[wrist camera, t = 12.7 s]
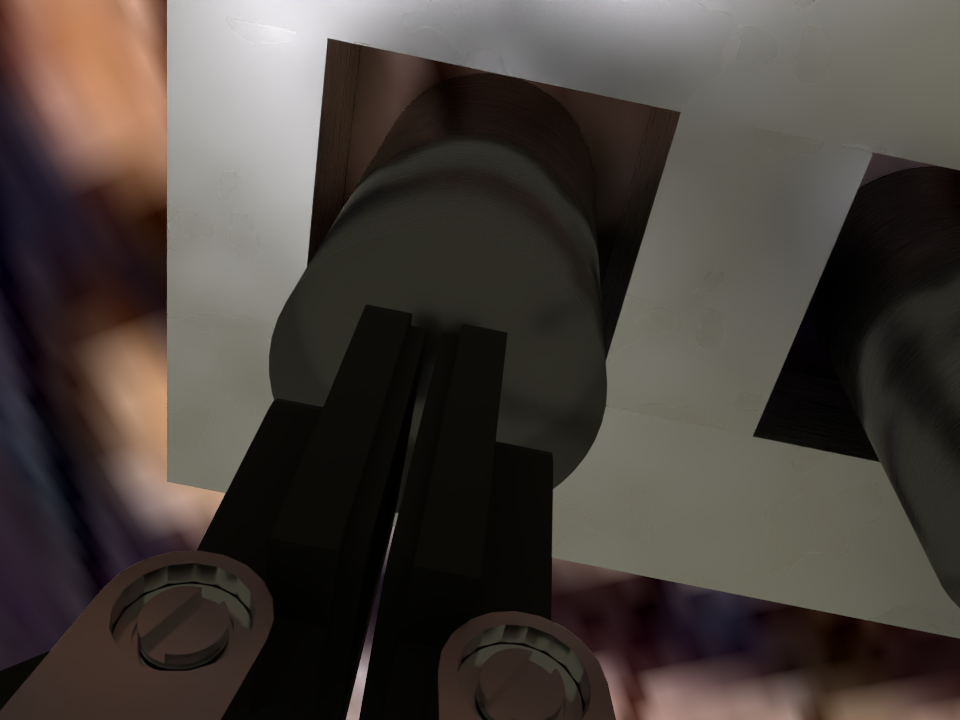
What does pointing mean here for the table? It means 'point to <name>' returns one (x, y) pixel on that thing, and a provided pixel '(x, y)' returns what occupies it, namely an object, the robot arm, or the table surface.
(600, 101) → the table surface
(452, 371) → the robot arm
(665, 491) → the jig
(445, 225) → the dark grey cylinder
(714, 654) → the table surface
